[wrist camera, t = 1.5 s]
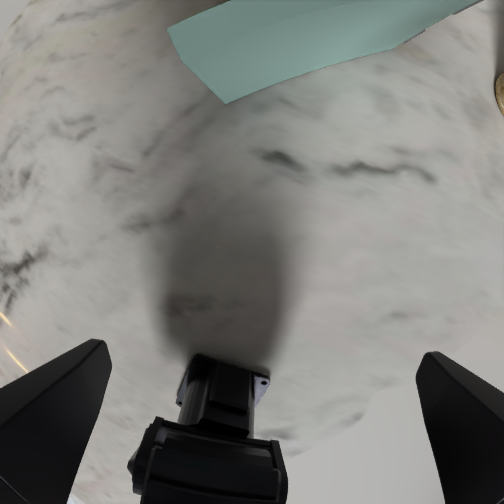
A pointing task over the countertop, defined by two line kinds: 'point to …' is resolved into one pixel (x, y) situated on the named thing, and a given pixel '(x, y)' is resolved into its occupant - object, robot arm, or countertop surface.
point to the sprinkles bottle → (500, 92)
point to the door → (295, 37)
